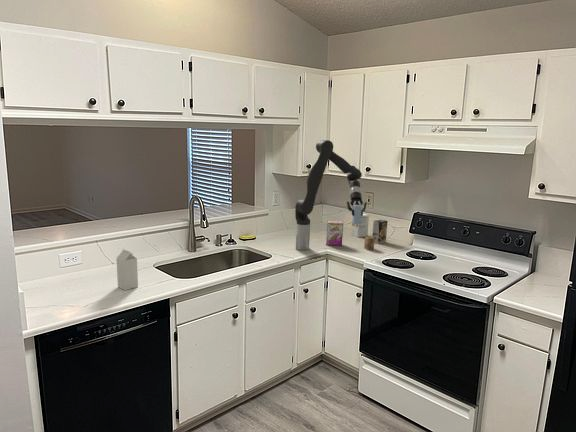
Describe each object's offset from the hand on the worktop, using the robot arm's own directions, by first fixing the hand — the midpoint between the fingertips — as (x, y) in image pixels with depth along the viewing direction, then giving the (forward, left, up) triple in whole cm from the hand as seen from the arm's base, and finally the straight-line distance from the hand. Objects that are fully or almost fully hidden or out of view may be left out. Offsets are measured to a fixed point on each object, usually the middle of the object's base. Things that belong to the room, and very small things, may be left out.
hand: (357, 215), depth 292 cm
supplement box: (+11, +49, -25) cm, 56 cm away
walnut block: (+11, +10, -25) cm, 29 cm away
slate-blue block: (0, +2, -6) cm, 6 cm away
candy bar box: (-12, +19, -25) cm, 34 cm away
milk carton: (-126, -73, -25) cm, 148 cm away
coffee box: (+22, +29, -25) cm, 44 cm away
